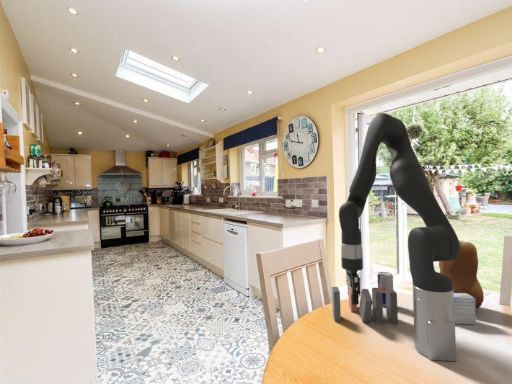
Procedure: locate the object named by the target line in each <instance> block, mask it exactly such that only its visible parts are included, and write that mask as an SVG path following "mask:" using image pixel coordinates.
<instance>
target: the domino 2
mask: <svg viewBox="0 0 512 384" xmlns="http://www.w3.org/2000/svg"><path fill="white" fill-rule="evenodd" d="M354 290H357V288H354ZM348 292H349V296H348V308H349V310H350V312H351V313H358V305H353V304H352V293H351V288H350V287H349V280H348V286H347V293H348Z"/></svg>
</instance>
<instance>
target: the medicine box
mask: <svg viewBox="0 0 512 384" xmlns="http://www.w3.org/2000/svg"><path fill="white" fill-rule="evenodd" d="M453 298H454V324H455V325H476V324H477V320H476V319H477V318H476V312H477V311H476V310H477V309H475V298H474V297H472V296H470V295H469V294H467V293H453Z"/></svg>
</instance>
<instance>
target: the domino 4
mask: <svg viewBox="0 0 512 384" xmlns="http://www.w3.org/2000/svg"><path fill="white" fill-rule="evenodd" d="M371 298H372V301H373V302H372V318H373V319H374V322H375V323H376V324H384V307H383V298H382V292H381V291H380V290H379V288H378V287H371Z"/></svg>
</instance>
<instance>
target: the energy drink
mask: <svg viewBox="0 0 512 384" xmlns="http://www.w3.org/2000/svg"><path fill="white" fill-rule="evenodd" d="M376 277H377V288H379V290H380V291H381V292H382V298H383V308H386V288H392V289H393V290H394V275H393V273H392V272H388V271H378V272H377V276H376Z"/></svg>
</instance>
